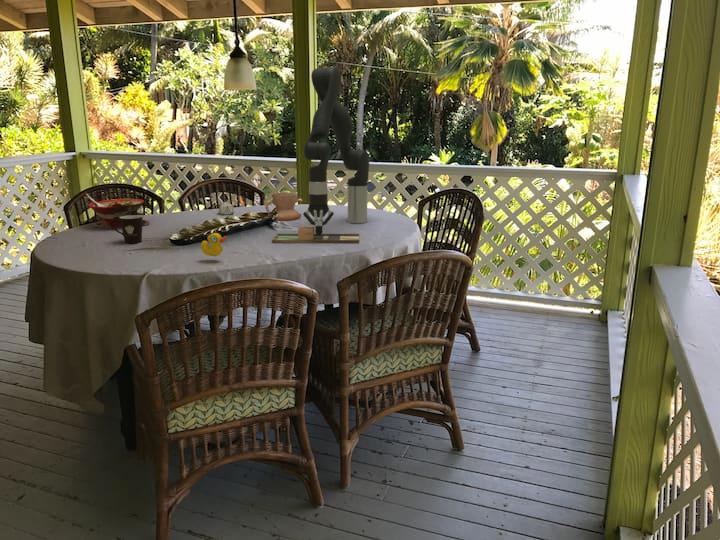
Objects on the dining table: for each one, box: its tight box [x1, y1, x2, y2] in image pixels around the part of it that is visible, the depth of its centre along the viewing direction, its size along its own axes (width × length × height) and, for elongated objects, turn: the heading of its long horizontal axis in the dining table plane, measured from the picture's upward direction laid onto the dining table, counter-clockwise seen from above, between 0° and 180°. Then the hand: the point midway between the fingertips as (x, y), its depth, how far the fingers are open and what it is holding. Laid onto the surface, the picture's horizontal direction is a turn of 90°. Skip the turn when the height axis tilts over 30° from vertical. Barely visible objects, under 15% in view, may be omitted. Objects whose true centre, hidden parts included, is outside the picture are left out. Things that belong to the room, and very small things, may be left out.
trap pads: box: [313, 236, 340, 240], centre depth 238 cm, size 12×12×1 cm
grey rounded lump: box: [217, 199, 236, 216], centre depth 285 cm, size 9×8×10 cm
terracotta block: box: [297, 226, 315, 240], centre depth 237 cm, size 6×6×4 cm
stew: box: [85, 193, 150, 230], centre depth 260 cm, size 28×24×16 cm
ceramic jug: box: [264, 191, 303, 222], centre depth 276 cm, size 18×14×14 cm
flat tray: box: [271, 233, 360, 244], centre depth 237 cm, size 14×35×1 cm, turn 90°
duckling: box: [200, 232, 227, 257], centre depth 207 cm, size 10×4×8 cm, turn 80°
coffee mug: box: [111, 214, 143, 244], centre depth 232 cm, size 12×9×10 cm
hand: (318, 234), depth 237 cm, fingers closed
